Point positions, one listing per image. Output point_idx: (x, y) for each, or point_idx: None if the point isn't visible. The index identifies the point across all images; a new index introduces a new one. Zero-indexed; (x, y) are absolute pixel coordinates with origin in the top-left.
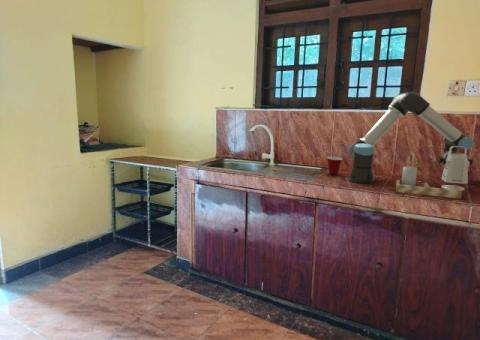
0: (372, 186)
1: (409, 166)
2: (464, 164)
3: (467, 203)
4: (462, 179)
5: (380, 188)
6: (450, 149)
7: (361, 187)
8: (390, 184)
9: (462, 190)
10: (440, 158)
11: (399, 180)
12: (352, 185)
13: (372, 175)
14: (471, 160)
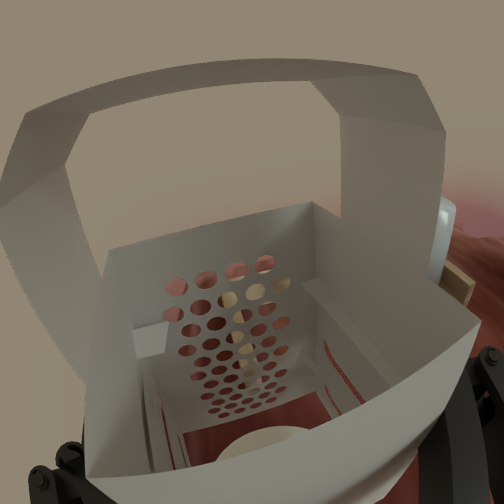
0: (480, 261)
1: (450, 212)
2: (171, 341)
3: (206, 274)
4: (211, 414)
5: (455, 258)
6: (385, 149)
7: (474, 240)
8: (495, 315)
9: (220, 458)
10: (492, 349)
11: (463, 280)
12: (496, 241)
13: None
14: (46, 467)
